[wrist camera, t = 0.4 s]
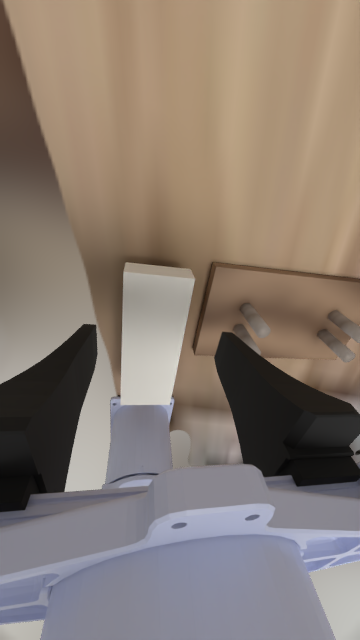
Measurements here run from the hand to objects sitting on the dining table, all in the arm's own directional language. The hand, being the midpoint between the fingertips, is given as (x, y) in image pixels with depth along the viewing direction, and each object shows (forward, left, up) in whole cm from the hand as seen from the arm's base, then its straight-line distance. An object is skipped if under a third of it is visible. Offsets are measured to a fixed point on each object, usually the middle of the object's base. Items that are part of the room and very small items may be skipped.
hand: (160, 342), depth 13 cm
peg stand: (-3, -14, -9) cm, 17 cm away
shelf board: (-5, 0, -7) cm, 8 cm away
